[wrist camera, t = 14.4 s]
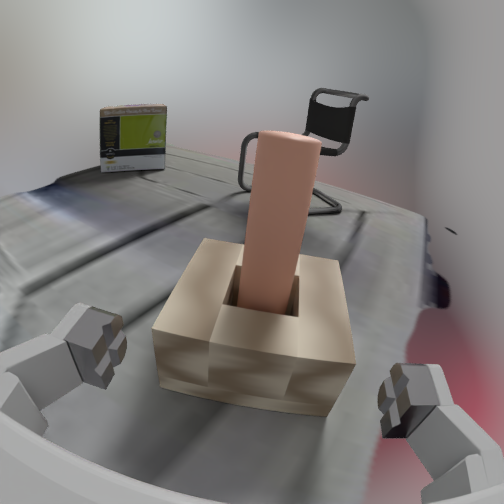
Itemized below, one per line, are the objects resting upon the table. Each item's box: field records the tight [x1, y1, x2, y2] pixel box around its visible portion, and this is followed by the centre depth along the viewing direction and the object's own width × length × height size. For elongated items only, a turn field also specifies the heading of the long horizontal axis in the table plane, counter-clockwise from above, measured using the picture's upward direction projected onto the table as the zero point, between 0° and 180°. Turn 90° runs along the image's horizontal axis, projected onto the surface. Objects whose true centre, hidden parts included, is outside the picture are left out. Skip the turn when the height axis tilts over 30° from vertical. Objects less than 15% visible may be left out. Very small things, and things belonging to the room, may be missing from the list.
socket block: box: [152, 238, 356, 417], centre depth 24 cm, size 12×12×6 cm
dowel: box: [237, 131, 322, 315], centre depth 20 cm, size 4×4×15 cm
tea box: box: [100, 104, 167, 172], centre depth 65 cm, size 15×10×15 cm, turn 109°
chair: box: [238, 88, 369, 214], centre depth 52 cm, size 13×17×22 cm
